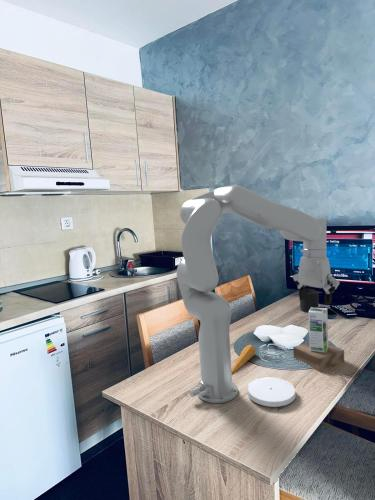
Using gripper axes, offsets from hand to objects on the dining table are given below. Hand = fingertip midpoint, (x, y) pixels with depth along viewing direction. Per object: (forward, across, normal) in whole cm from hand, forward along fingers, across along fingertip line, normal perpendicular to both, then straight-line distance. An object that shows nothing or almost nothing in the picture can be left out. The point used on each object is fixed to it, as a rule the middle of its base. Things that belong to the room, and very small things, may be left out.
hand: (314, 301), depth 124 cm
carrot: (+23, -18, -20) cm, 35 cm away
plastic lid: (+23, +3, -29) cm, 37 cm away
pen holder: (+21, -33, +48) cm, 62 cm away
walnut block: (+22, +1, +1) cm, 22 cm away
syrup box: (+17, +1, +1) cm, 17 cm away
